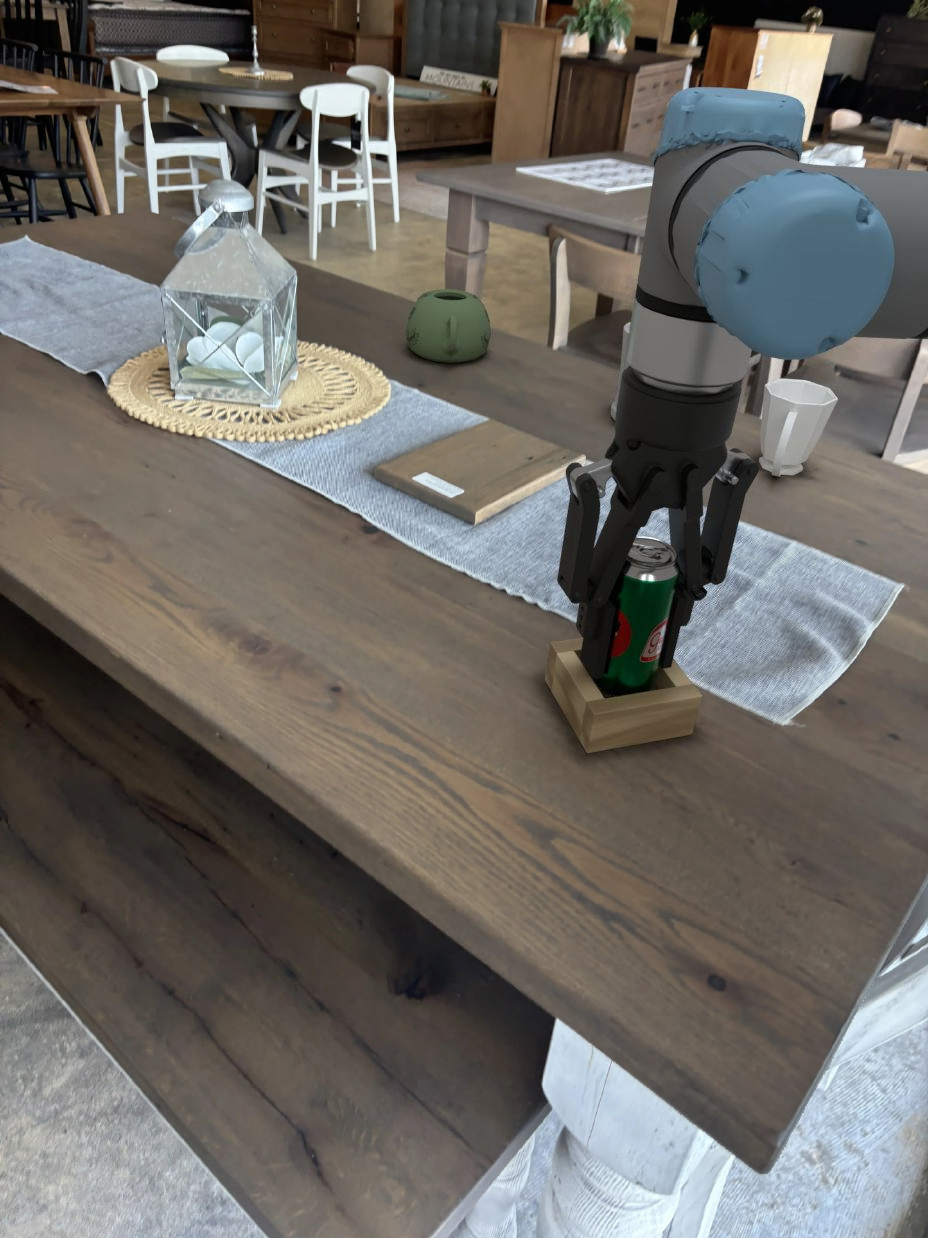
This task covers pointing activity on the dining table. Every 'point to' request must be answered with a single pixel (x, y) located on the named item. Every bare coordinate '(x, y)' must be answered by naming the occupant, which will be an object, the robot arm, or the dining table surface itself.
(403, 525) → the dining table surface
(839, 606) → the dining table surface
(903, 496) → the dining table surface
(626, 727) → the holder
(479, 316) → the mug
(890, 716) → the dining table surface
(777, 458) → the cup
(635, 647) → the soda can
